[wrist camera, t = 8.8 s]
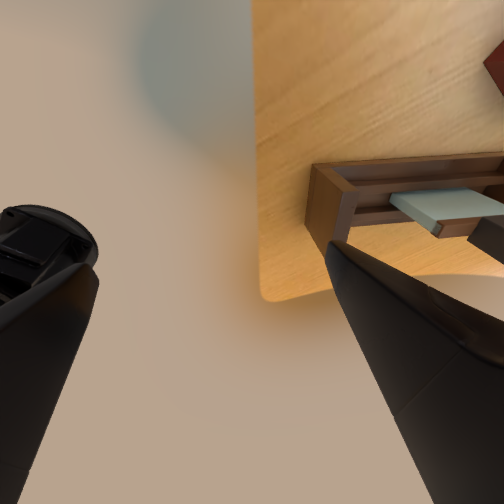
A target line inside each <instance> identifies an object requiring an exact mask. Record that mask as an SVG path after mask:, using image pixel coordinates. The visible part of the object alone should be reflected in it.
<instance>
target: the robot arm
mask: <svg viewBox="0 0 504 504" xmlns="http://www.w3.org/2000/svg"><path fill="white" fill-rule="evenodd" d="M11 212H12V213H13V214H12V213H11ZM85 245H87V246H85ZM92 248H93V243H92V242H91V241H89V240H87V239H84V238H82V237H80V236H78V235H75V234H73V233H71V232H69V231H67V230H64V229H62V228H60V227H58V226H55V225H53V224H51V223H49V222H46V221H44V220H42V219H40V218H38V217H35V216H33V215H31V214H29V213H26V212H24V211H22V210H20V209H17V208H15V207H7V208H6V209H4V210H3V212H2V216H1V219H0V504H17V502H18V500H19V497H20V495H21V492H22V490H23V487H24V485H25V482H26V479H27V477H28V475H29V470H30V469H31V467H32V464H33V462H34V459H35V457H36V454H37V451H38V449H39V447H40V444H41V441H42V439H43V437H44V434H45V431H46V429H47V426H48V424H49V421H50V418H51V416H52V414H53V411H54V409H55V406H56V404H57V401H58V399H59V396H60V394H61V391H62V389H63V386H64V384H65V381H66V378H67V376H68V374H69V371H70V369H71V366H72V363H73V361H74V359H75V356H76V354H77V351H78V349H79V346H80V343H81V341H82V338H83V336H84V333H85V331H86V328H87V326H88V323H89V320H90V317H91V313H92V309H93V306H94V302H95V298H96V294H97V291H98V287H99V279H98V277H97V275H96V274H95V272H94V271H93V269H92V267H91V266H90V264H88V263H85V261H86V259H87V257H88V255H89V254H90V252H91V250H92ZM325 264H326V267H327V270H328V273H329V276H330V279H331V282H332V285H333V288H334V291H335V294H336V296H337V298H338V301H339V303H340V305H341V307H342V309H343V311H344V313H345V316H346V318H347V320H348V322H349V324H350V326H351V328H352V330H353V333H354V335H355V337H356V339H357V341H358V343H359V345H360V347H361V350H362V352H363V354H364V356H365V358H366V360H367V362H368V364H369V367H370V369H371V371H372V373H373V375H374V377H375V379H376V381H377V384H378V386H379V388H380V390H381V392H382V394H383V396H384V398H385V401H386V403H387V405H388V407H389V408H390V411H391V413H392V415H393V416H394V420H395V422H396V424H397V426H398V429H399V431H400V433H401V435H402V437H403V439H404V441H405V443H406V445H407V448H408V450H409V452H410V454H411V456H412V458H413V460H414V462H415V465H416V467H417V469H418V471H419V473H420V475H421V477H422V479H423V481H424V484H425V486H426V488H427V490H428V492H429V494H430V496H431V499H432V501H433V503H434V504H504V321H501V320H499V319H497V318H495V317H493V316H491V315H488V314H486V313H484V312H482V311H479V310H477V309H475V308H473V307H471V306H469V305H466V304H464V303H462V302H460V301H458V300H456V299H454V298H452V297H450V296H448V295H446V294H444V293H442V292H440V291H438V290H436V289H434V288H432V287H430V286H429V287H428V286H427V285H426V284H424V283H423V282H421V281H419V280H417V279H415V278H413V277H411V276H409V275H407V274H405V273H403V272H401V271H399V270H397V269H395V268H393V267H391V266H389V265H388V264H386V263H384V262H382V261H380V260H378V259H376V258H374V257H372V256H370V255H368V254H366V253H364V252H362V251H360V250H358V249H356V248H355V247H353V246H351V245H349V244H347V243H345V242H343V241H341V240H331V241H329V242H328V244H327V248H326V253H325Z"/></svg>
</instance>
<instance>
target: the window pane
mask: <svg viewBox="0 0 504 504" xmlns="http://www.w3.org/2000/svg"><path fill="white" fill-rule="evenodd" d="M389 202H390V203H391V204H393V205H394V206H396V207H397V208H398V209H400V210H401V211H402V212H404V213H405V214H406V215H408V216H409V217H411V218H412V219H413V220H415V221H416V222H417V223H419V224H420V225H422V226H423V227H424V228H426V229H427V230H428V231H430V233H431V234H432V235H434V236H435V237H437V238H438V239H439V238H450V237H460V236H469V237H468V239H467V241H468V242H470V243H472V244H473V245H475V246H476V247H478V248H479V249H481V250H482V251H484V252H485V253H487V254H488V255H490V256H491V257H493V258H494V259H496V260H497V261H499V262H501V263H502V264H504V204H502V203H500V202H498V201H496V200H493V199H491V198H489V197H486V196H484V195H482V194H480V193H477V192H475V191H473V190H471V189H468V188H466V187H459V188H446V189H433V190H419V191H406V192H393V193H392V195H391V197H390V200H389Z"/></svg>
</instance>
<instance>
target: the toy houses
mask: <svg viewBox="0 0 504 504" xmlns="http://www.w3.org/2000/svg"><path fill="white" fill-rule="evenodd" d="M483 63H484V65H485V66H486V68H487V70H488V71H489V73H490V75H491V76H492V78H493V79H494V81H495V83H496V84H497V86H498V88H499V89H500V91H501V92H502V94H503V96H504V41H503V42H502V43H501V44H500V45H499V46H498V47H497V48H496V49H495V51H494V52H493V53H492V54H491V55H490V56H489V57H488V58H487V59H486V60H485V61H484V62H483Z"/></svg>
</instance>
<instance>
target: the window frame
mask: <svg viewBox="0 0 504 504" xmlns="http://www.w3.org/2000/svg"><path fill="white" fill-rule="evenodd" d="M459 187H466V188H468V189H471V190H473V191H475V192H477V193H480V194H482V195H484V196H486V197H489V198H491V199H493V200H496V201H498V202H500V203H502V204H504V152H491V153H475V154H460V155H444V156H429V157H414V158H398V159H383V160H367V161H352V162H337V163H321V164H312V169H311V177H310V185H309V193H308V201H307V208H306V216H305V224H304V225H305V226H306V228H307V230H308V231H309V233H310V235H311V237H312V238H313V240H314V242H315V243H316V245H317V247H318V249H319V250H320V252H321V254H322V256H323V257H324V259H325V253H326V248H327V244H328V242H329V241H331V240H341V241H343V242H345V243H346V242H347V238H348V234H349V231H350V227H355V226H367V225H379V224H390V223H402V222H414V221H415V220H413V219H412V218H411V217H409V216H408V215H406V214H405V213H404V212H402V211H401V210H400V209H398V208H397V207H396V206H394V205H393V204H391V203H390V202H389V200H390V197H391V195H392V193H393V192H406V191H419V190H433V189H446V188H459Z"/></svg>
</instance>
